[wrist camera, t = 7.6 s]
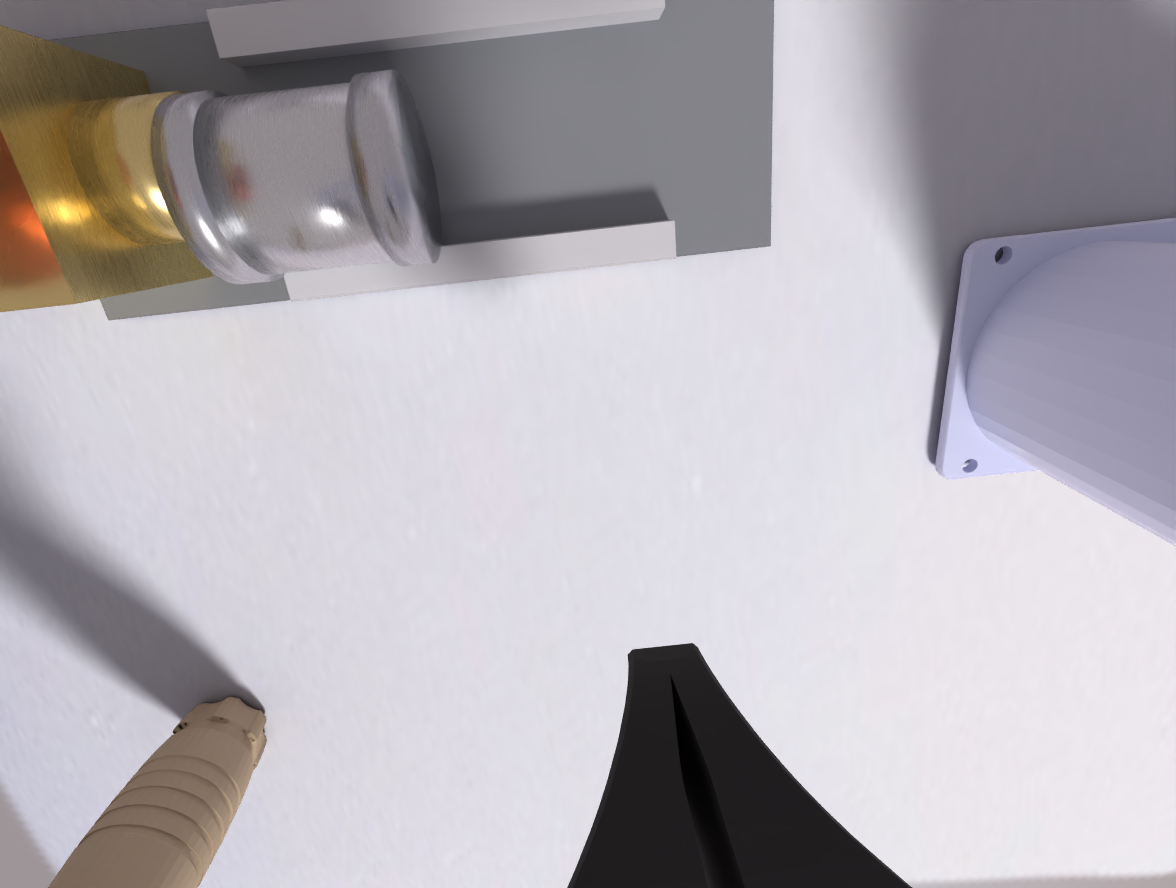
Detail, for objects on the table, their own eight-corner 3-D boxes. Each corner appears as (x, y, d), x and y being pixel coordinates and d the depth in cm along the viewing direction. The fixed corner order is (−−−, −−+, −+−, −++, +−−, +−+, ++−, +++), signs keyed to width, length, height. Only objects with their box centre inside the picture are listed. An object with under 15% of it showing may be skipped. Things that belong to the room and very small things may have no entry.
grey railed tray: (769, -38, 15) (788, -62, 14) (766, 245, 18) (782, 248, 16) (8, 50, 15) (-44, 35, 14) (118, 318, 18) (82, 326, 17)
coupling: (407, 57, 15) (369, 86, 11) (448, 228, 17) (427, 291, 14) (210, 80, 15) (115, 115, 11) (282, 247, 17) (223, 314, 14)
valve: (219, 62, 15) (-26, -41, 9) (280, 269, 17) (114, 304, 11) (-30, 91, 15) (-451, 10, 9) (59, 294, 17) (-235, 344, 11)
